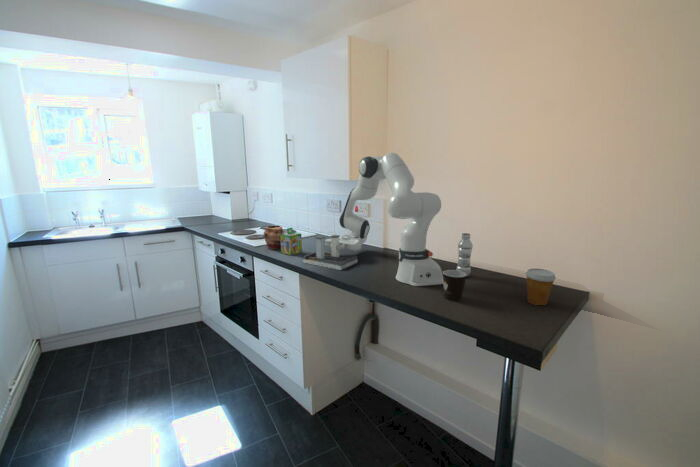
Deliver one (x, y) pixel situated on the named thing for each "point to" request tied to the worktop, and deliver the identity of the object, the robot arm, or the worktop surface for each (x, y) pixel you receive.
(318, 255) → the cylinder
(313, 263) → the grey rectangular tray
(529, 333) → the worktop surface
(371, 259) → the worktop surface
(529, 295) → the disposable coffee cup
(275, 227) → the decorative planter
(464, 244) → the plastic bottle
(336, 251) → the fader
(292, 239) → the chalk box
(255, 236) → the worktop surface
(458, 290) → the coffee mug
